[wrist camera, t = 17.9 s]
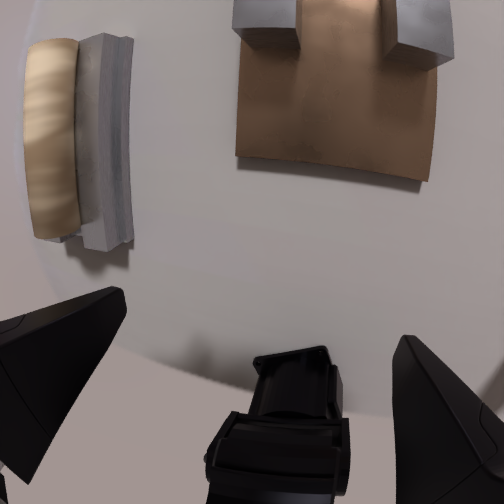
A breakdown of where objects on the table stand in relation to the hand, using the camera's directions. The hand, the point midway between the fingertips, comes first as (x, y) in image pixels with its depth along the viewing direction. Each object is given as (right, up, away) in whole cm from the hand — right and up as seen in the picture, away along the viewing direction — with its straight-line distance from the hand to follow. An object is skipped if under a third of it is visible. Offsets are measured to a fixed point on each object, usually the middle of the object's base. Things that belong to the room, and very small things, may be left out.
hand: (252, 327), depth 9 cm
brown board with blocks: (+5, +17, +5) cm, 18 cm away
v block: (-14, +11, +12) cm, 21 cm away
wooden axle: (-14, +11, +9) cm, 20 cm away
